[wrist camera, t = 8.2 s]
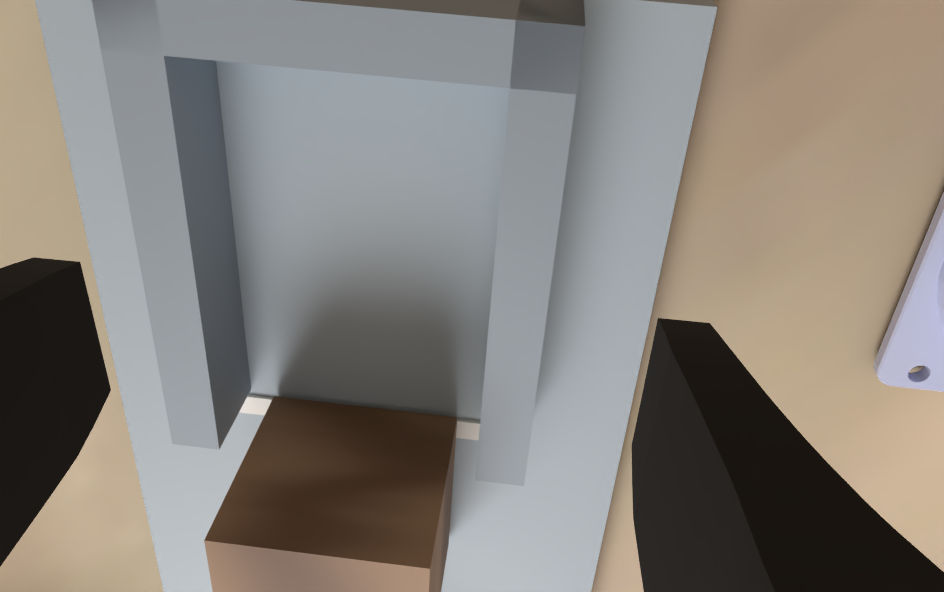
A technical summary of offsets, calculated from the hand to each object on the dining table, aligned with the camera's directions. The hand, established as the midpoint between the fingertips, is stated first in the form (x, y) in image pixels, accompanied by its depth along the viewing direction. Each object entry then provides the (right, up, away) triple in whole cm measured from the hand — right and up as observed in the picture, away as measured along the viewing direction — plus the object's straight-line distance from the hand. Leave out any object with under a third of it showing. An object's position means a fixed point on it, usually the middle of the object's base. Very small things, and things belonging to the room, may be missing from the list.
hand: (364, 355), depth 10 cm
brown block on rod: (-2, -9, +16) cm, 18 cm away
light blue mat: (-1, -3, +14) cm, 14 cm away
